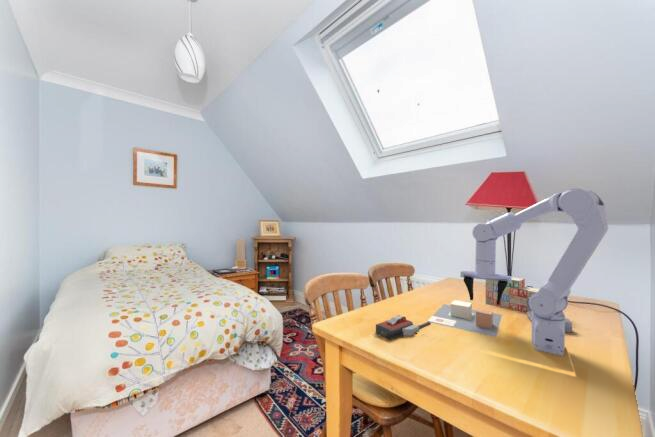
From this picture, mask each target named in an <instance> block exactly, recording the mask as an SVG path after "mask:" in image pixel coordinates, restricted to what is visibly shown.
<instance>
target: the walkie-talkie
mask: <svg viewBox="0 0 655 437" xmlns="http://www.w3.org/2000/svg"><path fill="white" fill-rule="evenodd" d="M431 324H432V323H430V322H427V321H426V322H424V323H422V324H420V325H415V324H414V323H413V321H411V320H408V319H407V317H406V316H403V315H400V314H398V315H395V316H392V317H391V318H390V319H386V321H383V322H379V323H377V324H375V334H377V335H379V336H381V337H383V338H386V339H388V340H393V339H397V338H399V337H401V336H403V337H412V336H413V335H416V334H417V332H419V331H420V329H422V328H425V327H426V326H428V325H431Z"/></svg>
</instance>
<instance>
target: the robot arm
mask: <svg viewBox="0 0 655 437" xmlns="http://www.w3.org/2000/svg"><path fill="white" fill-rule="evenodd" d="M605 209H606V204H605V202H604V201H603V199H602V198H601V197H600V196H599V194H597V193H596V192H595V191H594V192H593V191H592V190H586V189H585V190H584V189H583V188H568V189H567V190H565V191H563V192H558V193H555V194H553V195H551V196H549V197H547V198H545V199H543V200H540V201H539V202H537V203H535V204H533V205H531V206H529V207H527V208H525V209H523V210H521V211H518V212H516V213H515V212H511V211H509V212H506V211H505V212H501V213H500V216H498V217H496V218H494V219H488V220H486V223H477V224H476V225H475V226H474V227H473V229H472V236H473V238H474V239H475V267H474V268H475V271H470V270H461V271H460V278H463V282H464V284H465V287H466V289H467V291H468V295H469V300H470V301H473V300H474V279H477V280H485V281H486V280H492V281H498V296H497V305H500V299H501V296H502V293H503V291H504V289H505V288H506V286H507V283H512V277H513V276H512V275H506V274H505V275H504V274H499V273H496V253H497V250H496V248H497V242H496V241H497V240H498V239H499V238H500V237H503V236H506V235H508V234H510V233H513V232H515V231H518V230H520V229H521V227H522V225H523V223H526V222H528V221H531V220H534V219H537V218H539V217H542V216H544V215H547V214H549V213H557V212H558V213H560V212H561V213H565V214H567V215H568V217H571V218H572V220H573V222H574V224H575V225H576V227H577V231H576V233H575V234H574V236H573V238H572V239H571V241H570V242H569V244H568V246H567V248H566V249H565V250H564V253H563V254H562V256H561V258H560V259H559V261H558V262H557V265H556V266H555V268H554V269H553V271H552V273H551V274H550V276H549V278H548V279H547V280H546V282H545V283H544V284H543V285H542V286H541V287H540V288H539V289H540V290H539V291H538V292H537V293H535V294H533V295H532V296H531V297H530V298H529V302H528V303H529V307H530V309H531V310H532V321H531V340H530V341H531V343H532V344H533V346H534V350H535V351H536V350H537V351H541V352H545V353H550V354H553V355H557V356H558V355H559V356H565V355H564V353H565V352H564V351H565V347H566V346H565V345H566V344H565V342H566V341H565V340H566V336H565V335H566V332H565V318H566V315H565V314H564V312H563V311H565V310H566V309H567V308H568V305H569V302H568V299H569V296H570V295H571V289H572V288H573V285H574V284H575V282H576V280H577V279H578V278H579V276H580V274H581V273H582V272H583V270H584V268H585V266H586V265H587V264H588V262H589V260H590V259H591V257H592V256H593V254H594V253H595V251H596V249H597V248H598V246H599V244H600V243H601V241H602V240H603V239H604V237H605V235H606V234H607V232H608V230H609V226H608V219H607V215H606V210H605ZM491 278H492V279H491Z"/></svg>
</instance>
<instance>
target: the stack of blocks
mask: <svg viewBox="0 0 655 437" xmlns="http://www.w3.org/2000/svg"><path fill="white" fill-rule="evenodd" d="M491 279H492V278H491ZM525 283H526V282H525V278H521V277H520V278H519V277H514V276H512V283H507V286H506V288H505V289H504V291H503V293H502V296H501V299H500V305H497V296H498V281H492V280H485V305H488V306H494V307H500V308H506V309H512V310H517V311H521V312H526V313H527V312H529V311H532V310H531V309H530V307H529V303H528V302H529V298H530V297H531V296H532V295H533V294H535V293H537V292H538V291H539V290H540V288H535V287H529V286H525Z"/></svg>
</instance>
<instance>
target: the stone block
mask: <svg viewBox="0 0 655 437" xmlns="http://www.w3.org/2000/svg"><path fill="white" fill-rule="evenodd" d="M526 316H527V317H528V319H529V320H530V321H531V322H532V311H529V312H526ZM565 333H569V334H570V333H573V324H572V321H571V320H570V319H569V318H568V317H565Z"/></svg>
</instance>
